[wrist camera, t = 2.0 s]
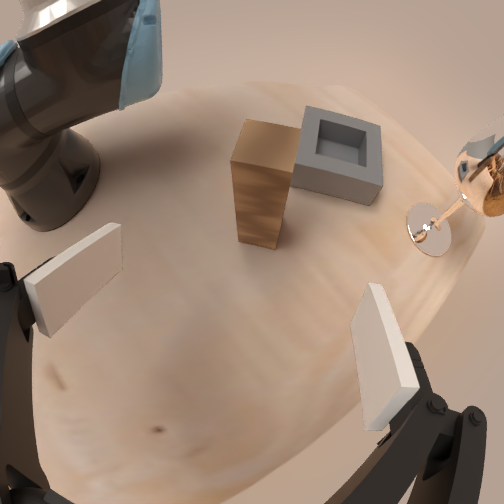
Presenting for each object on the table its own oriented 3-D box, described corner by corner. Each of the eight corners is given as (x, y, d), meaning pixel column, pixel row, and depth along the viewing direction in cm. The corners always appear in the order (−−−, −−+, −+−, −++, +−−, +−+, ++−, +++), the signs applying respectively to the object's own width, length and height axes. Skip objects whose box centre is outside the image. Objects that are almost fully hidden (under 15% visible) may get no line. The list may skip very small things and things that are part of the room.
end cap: (289, 185, 33) (294, 163, 29) (301, 128, 36) (305, 105, 32) (368, 205, 32) (382, 186, 28) (369, 146, 36) (380, 125, 31)
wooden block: (238, 241, 31) (230, 160, 17) (247, 209, 32) (245, 119, 19) (275, 249, 30) (292, 172, 17) (282, 217, 32) (301, 129, 18)
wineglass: (437, 269, 30) (556, 192, 11) (395, 227, 31) (494, 117, 13) (457, 230, 31) (553, 150, 13) (419, 192, 33) (501, 91, 14)
